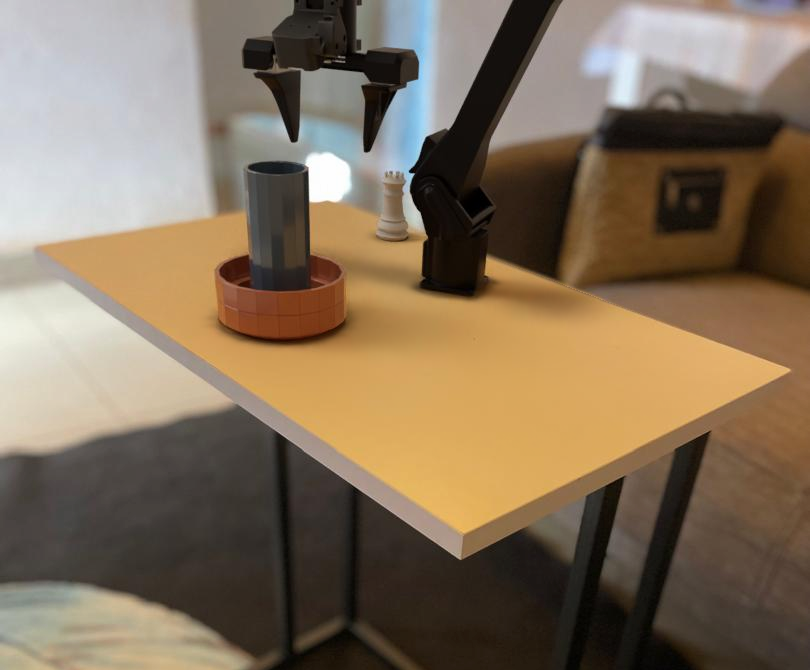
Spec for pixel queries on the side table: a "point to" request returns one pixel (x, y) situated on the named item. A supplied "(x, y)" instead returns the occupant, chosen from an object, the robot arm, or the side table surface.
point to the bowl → (281, 301)
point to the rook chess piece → (393, 209)
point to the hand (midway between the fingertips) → (330, 147)
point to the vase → (278, 225)
